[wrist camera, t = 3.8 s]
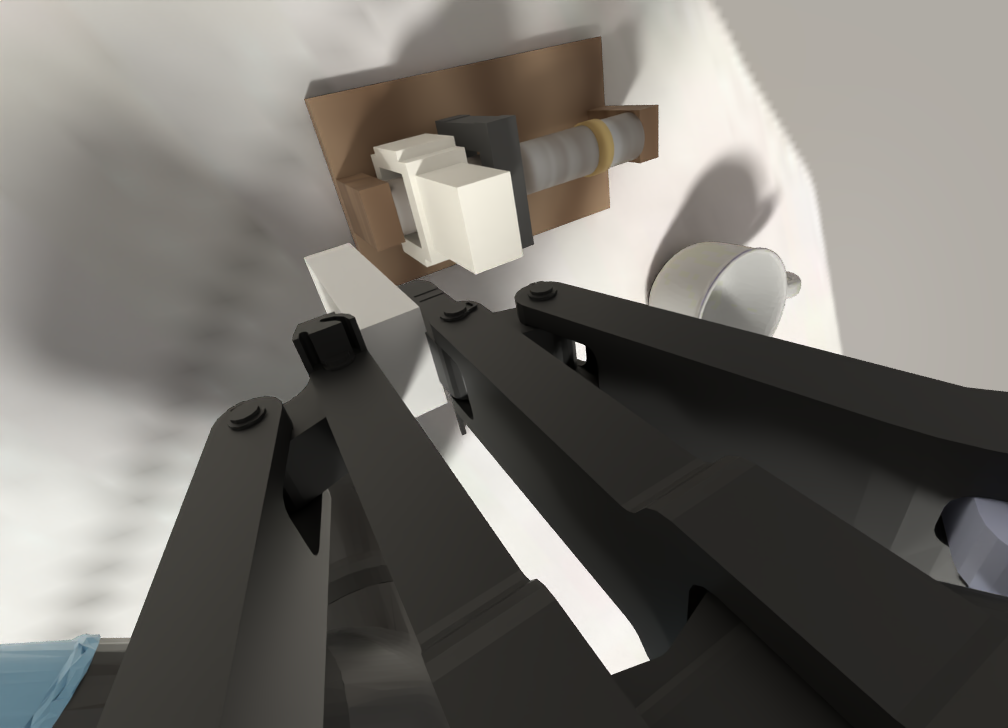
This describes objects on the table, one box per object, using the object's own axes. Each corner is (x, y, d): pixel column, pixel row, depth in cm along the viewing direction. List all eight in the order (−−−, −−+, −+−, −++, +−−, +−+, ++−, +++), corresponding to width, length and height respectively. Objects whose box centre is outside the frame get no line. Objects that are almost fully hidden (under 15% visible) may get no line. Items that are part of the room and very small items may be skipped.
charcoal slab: (459, 231, 31) (509, 253, 26) (434, 120, 27) (486, 122, 22) (481, 223, 31) (534, 244, 26) (459, 114, 28) (515, 115, 23)
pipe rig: (370, 289, 31) (404, 323, 26) (304, 99, 25) (330, 95, 20) (601, 205, 38) (664, 220, 33) (591, 38, 32) (665, 24, 27)
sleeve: (398, 247, 29) (474, 299, 21) (367, 146, 26) (443, 161, 18) (443, 232, 30) (532, 276, 22) (419, 132, 27) (511, 141, 19)
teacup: (622, 350, 46) (688, 387, 40) (640, 234, 41) (719, 256, 35) (720, 327, 52) (790, 356, 46) (746, 224, 47) (828, 241, 41)
